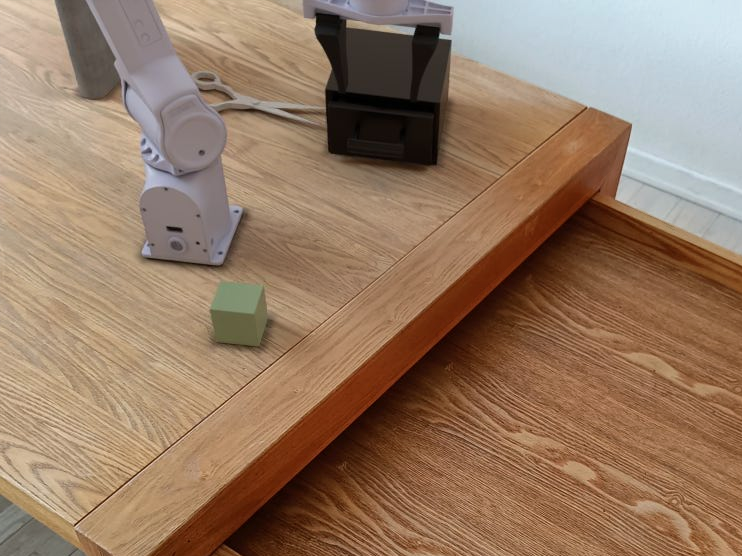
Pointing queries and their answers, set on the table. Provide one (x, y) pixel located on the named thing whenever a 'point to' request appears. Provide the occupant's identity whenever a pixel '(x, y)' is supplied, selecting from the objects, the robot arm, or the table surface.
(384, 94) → the cabinet
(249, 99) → the scissors
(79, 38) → the hip flask
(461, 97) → the table surface
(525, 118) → the table surface
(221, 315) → the block
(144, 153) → the robot arm
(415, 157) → the drawer
